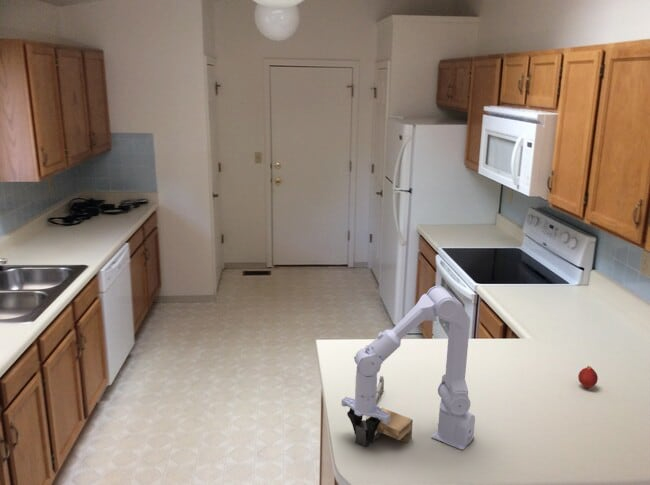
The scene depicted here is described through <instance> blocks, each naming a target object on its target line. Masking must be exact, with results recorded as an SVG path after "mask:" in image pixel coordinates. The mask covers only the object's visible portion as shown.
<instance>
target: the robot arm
mask: <svg viewBox="0 0 650 485" xmlns="http://www.w3.org/2000/svg"><path fill="white" fill-rule="evenodd" d="M437 317H438V318H439V319H441V320H442V321H445V322H448V324H449V325H448V336H447V337H448V338H447V340H448V341H447V351H446V362H445V374H443V375H442V376H441V382H440V383H439V385H438V388H437V393H438V395H439V397H440V398H441V400H440V402H439V411H438V423H437V424H438V425H437V430H436V431H435V432H434V433H433V434H432V435H431V438H432V439H434V440H436V441H439V442H442V443H444V444H446V445H449V446H452V447H454V448H457V449H459V450H460V451H461V450H462V451H463V450H464V449H465V448H466V447H467V446H468V445H469V444H470V443H471V442H472V441H473V439H474V438H475V435H474V434H475V433H474V432H475V422H476V417H475V415H474V414H472V413H471V412H470V411H469V410H470V408H471V400H470V398H469V388H468V385H467V381H466V370H467V360H468V359H467V358H468V350H469V348H468V347H469V336H470V329H471V328H470V326H471V317H470V316H469V315H468V312H467V311H466V309H465V307H464V306H463V304H462V302H460V301H459V300H458V299H457V298H456V297H455V295H454V294H453V293H452V292H451V291H450V290H449V289H446V288H445V287H444V286H441V285H435V286H432V287H430V288H429V289H428V291H427V292H426V293H424V294H422V295H421V296H420V298H419V300H418V301H417V303H416V304H415V305H414V306H412V308H411V309H410V310H409V311H408V313H406V315H405V316H404V317H402V319H400V321H398V323H397V324H396V325H395V326H394V327H393V328H392V329H384V331H380V332H379V333H377V337H376V338H375V339H374V340H373V341H372V342H371V343H369V344H368V345H366V346H364V348H361V349H359V350H357V351H356V353H355V356H353V359H354V362H355V364H356V372H355V373H356V374H355V389H354V390H355V391H354V392H355V394H354V395H355V396H354V398H351V397H347V396H345V397H343V398H342V399H341V406H342V407H344V408H345V407H348V408H349V410H348V412H347V414H346V415H347V417H348V418H349V421H350V422H351V425H352V427H353V428H352V429H353V432H354V435H355V434H356V425H357V424H358V423H360V422H361V421H363V418H364V417H363V416H365V417H367V416H370V418H368V419H367V420H366V419H365V421H366V425H367V431H368V432H367V439H368V441H371V440H372V439H374V435H375V432H376V429H377V427H378V425H379V423H380V422H381V421H383V423H385V424H387V423H388V422H389V421H390V414H388V413H386V412H384V411H383V410H382V409H381V408H380V407H379V406H378V405H377V403H376V394H377V386H378V373H379V372H380V370H381V367H382V364H383V363H384V362H385V361H386V360H387V359H388V358H389V357H390V356H391V355H392V354H393V353H394V352H395V351H396V350H398V349H399V348H400V347H401V343H402V342H401V341H402V339H403V338H405V337H406V335H408V334H410V333H411V331H413V330H415V329H416V328H418V326H420V324H421V323H423V322H424V321H426V322H427V321H429V322H437V321H438V319H437Z"/></svg>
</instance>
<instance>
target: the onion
mask: <svg viewBox="0 0 650 485" xmlns="http://www.w3.org/2000/svg"><path fill="white" fill-rule="evenodd" d="M577 378H578V381H579V383H580V384H581V385H582V386H583V387H584V388H585V389H589V388H593V387H594V386H595V385H596V384H597V383H598V380H599V378H598V374H597V372H596V371H595V370H594V369H593V368H592V366H591V365H588V366H586V367H585V368H582V369H581V370H580V371H579V373H578V377H577Z"/></svg>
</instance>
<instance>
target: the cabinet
mask: <svg viewBox="0 0 650 485" xmlns="http://www.w3.org/2000/svg"><path fill="white" fill-rule="evenodd" d="M380 409H382V410H383V411H384V412H386V413H388V414H390V421H389V422H388V423H387V424H385V423H383V421H381V422H380V423H379V425H378V427H377V429H376V431H379V432H381V434H385V435H386V436H388V437H391V438H393V439H396V440H397V441H402V442H404V443H407V444H408V443H409V442H410V441H412V436H413V435H412V434H413V421H414V420H413V418H412V419H411V418H410V417H407V416H404V415H402V414H399V413H397V412H394V411H392V410H390V409H386V408H384V407H381V408H380ZM369 418H370V417H369Z"/></svg>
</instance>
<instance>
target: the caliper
mask: <svg viewBox="0 0 650 485" xmlns="http://www.w3.org/2000/svg"><path fill="white" fill-rule="evenodd" d="M378 380H379V382H378V383H377V394H376V404H377V402H378V399H380V396H382V395H383V393H384V390H385V388H384V387H385V386H384V385H385V378H384V376H383V375H380V377H379V379H378ZM369 417H370V416H365V421H366V420H367V419H368V418H369Z"/></svg>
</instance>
